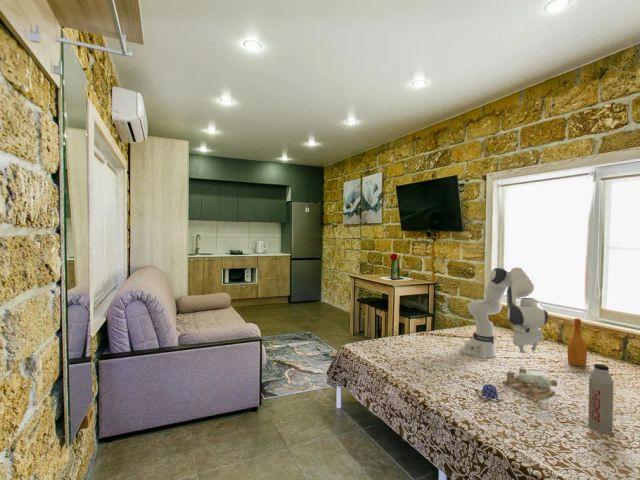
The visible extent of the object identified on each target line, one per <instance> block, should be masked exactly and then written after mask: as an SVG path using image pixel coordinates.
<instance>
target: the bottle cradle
mask: <svg viewBox="0 0 640 480" xmlns="http://www.w3.org/2000/svg"><path fill="white" fill-rule="evenodd" d="M518 373H519V374H520V373H527V368H524V367H519V368H518ZM519 374H515V371H512V370H507V372H506V379H503V380H502V384H505V386H509V387H510V388H513V389H514V390H517V391H519V392H522V393H523V394H525V395H528V396H530V397H532V398H534V399H537V400H541V399H543V398H547V397H550V396H553V395H555V394H556V390H553V389H551V385H547V386H545V387H541V386H538V382H536V381H534V380H532V381H530V384H525V383H521V382H520V381H519ZM544 377H545V378H547V379H549V380H551V378H550V377H548V376H544Z"/></svg>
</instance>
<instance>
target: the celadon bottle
mask: <svg viewBox="0 0 640 480" xmlns="http://www.w3.org/2000/svg"><path fill="white" fill-rule="evenodd" d="M545 377H546V376H545V375H542V374H541V375H540V374H533V373H528V372H526V373H520V374H519V381H520V382H521V383H525V384H530V381H532V380H534V381H536V382H538V386H541V387H545V386H547V385H550V386H552V387H557V385H558V381H557V380H555V379H550V380H549V379H547V378H545Z"/></svg>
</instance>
